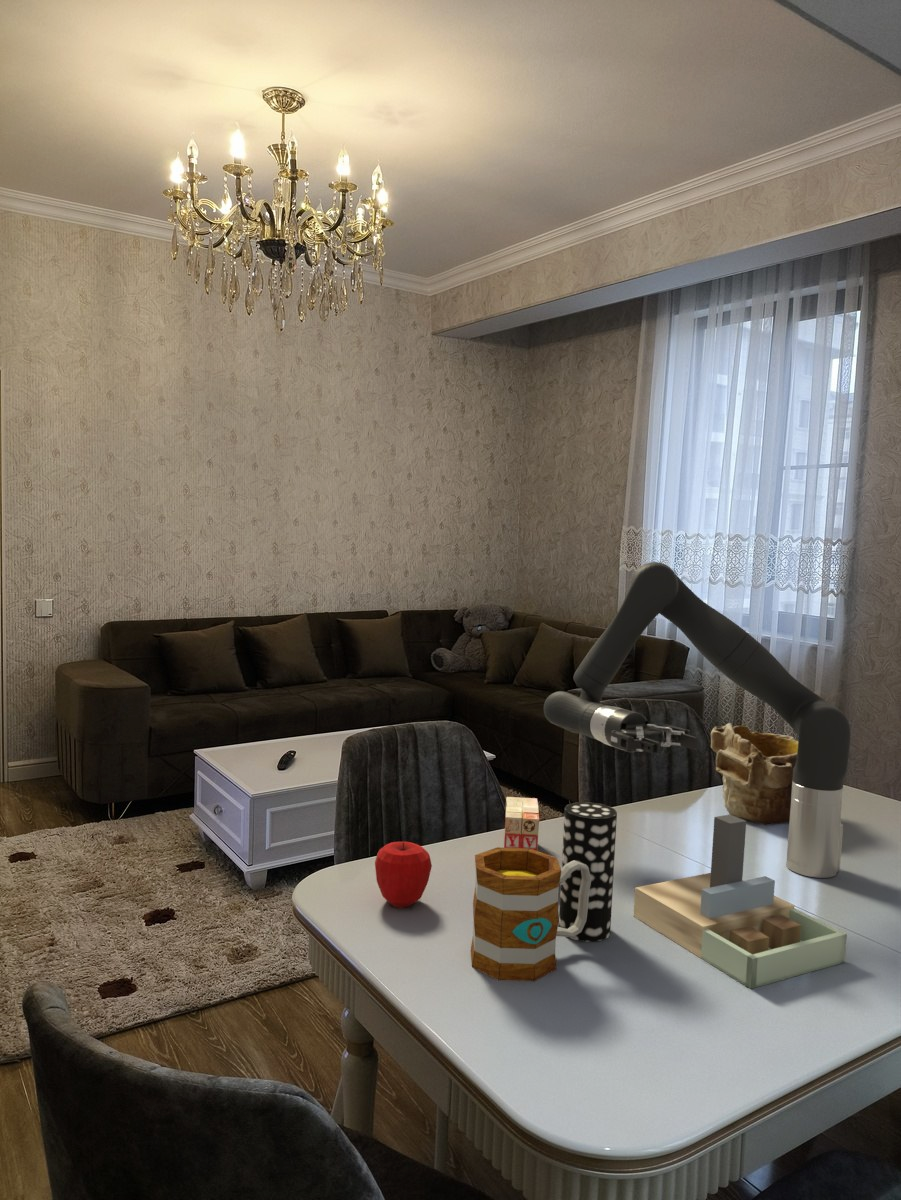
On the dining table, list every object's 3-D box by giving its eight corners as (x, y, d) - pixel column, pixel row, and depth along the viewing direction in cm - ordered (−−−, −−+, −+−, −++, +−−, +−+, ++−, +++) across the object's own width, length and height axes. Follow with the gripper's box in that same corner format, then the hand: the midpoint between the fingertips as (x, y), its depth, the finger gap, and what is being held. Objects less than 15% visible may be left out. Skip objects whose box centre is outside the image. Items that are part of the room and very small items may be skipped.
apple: (440, 908, 151) (442, 846, 150) (390, 919, 146) (392, 855, 145) (412, 887, 159) (414, 828, 158) (364, 897, 154) (365, 836, 153)
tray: (792, 934, 146) (794, 908, 146) (844, 962, 137) (846, 933, 137) (700, 958, 137) (702, 929, 136) (750, 989, 128) (752, 958, 127)
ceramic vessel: (864, 795, 199) (810, 710, 194) (784, 864, 196) (726, 780, 191) (802, 766, 221) (752, 689, 216) (729, 828, 218) (676, 752, 213)
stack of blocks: (504, 840, 185) (506, 782, 184) (534, 842, 185) (537, 784, 184) (502, 881, 164) (505, 815, 163) (536, 883, 163) (539, 818, 162)
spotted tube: (598, 947, 139) (605, 822, 137) (550, 932, 143) (556, 811, 142) (617, 927, 146) (624, 808, 144) (571, 914, 150) (577, 799, 149)
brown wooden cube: (750, 926, 138) (768, 937, 135) (748, 950, 139) (767, 962, 135) (730, 929, 137) (748, 941, 133) (728, 954, 137) (746, 967, 134)
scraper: (747, 891, 150) (753, 810, 149) (773, 904, 146) (779, 820, 144) (684, 905, 144) (690, 820, 143) (709, 918, 139) (715, 831, 138)
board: (720, 897, 160) (722, 870, 160) (792, 934, 146) (794, 905, 146) (633, 916, 151) (635, 887, 150) (700, 958, 137) (703, 926, 136)
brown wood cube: (780, 914, 143) (801, 925, 140) (779, 938, 143) (799, 949, 140) (763, 919, 141) (783, 929, 138) (761, 943, 142) (781, 954, 138)
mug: (492, 989, 125) (496, 886, 124) (453, 946, 137) (457, 852, 136) (610, 966, 133) (615, 869, 132) (563, 928, 145) (568, 838, 144)
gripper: (589, 711, 166) (647, 729, 152) (648, 705, 173) (709, 721, 158) (588, 751, 166) (645, 772, 152) (647, 743, 173) (708, 763, 159)
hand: (678, 746), depth 155 cm, fingers open, 8 cm apart
